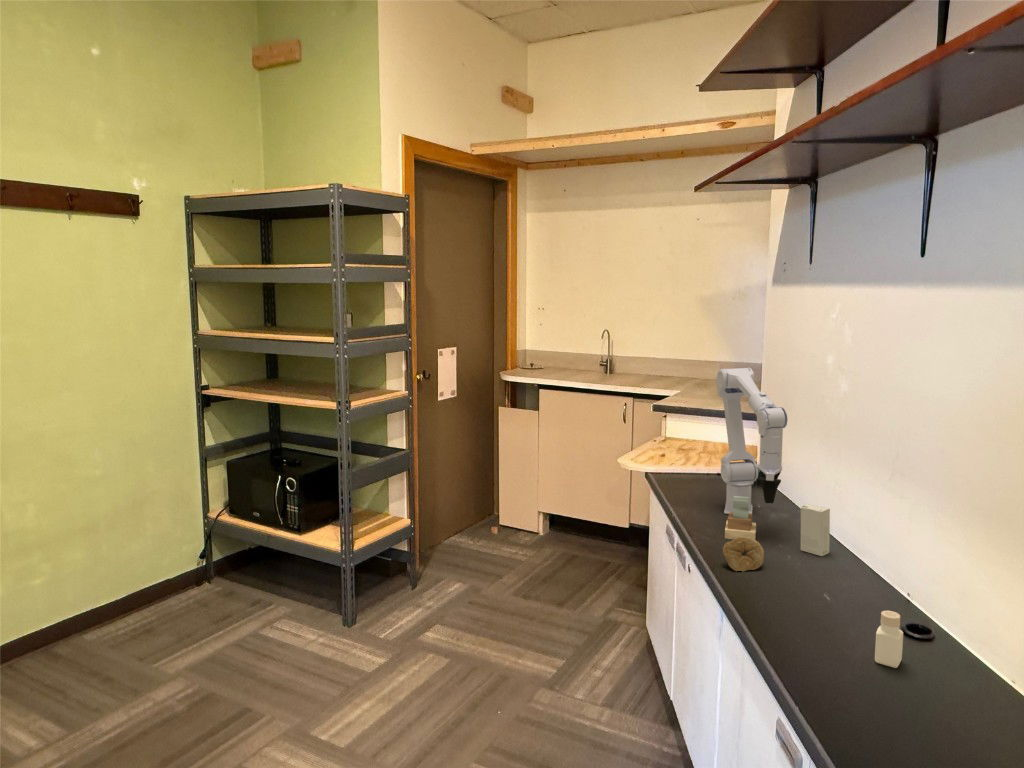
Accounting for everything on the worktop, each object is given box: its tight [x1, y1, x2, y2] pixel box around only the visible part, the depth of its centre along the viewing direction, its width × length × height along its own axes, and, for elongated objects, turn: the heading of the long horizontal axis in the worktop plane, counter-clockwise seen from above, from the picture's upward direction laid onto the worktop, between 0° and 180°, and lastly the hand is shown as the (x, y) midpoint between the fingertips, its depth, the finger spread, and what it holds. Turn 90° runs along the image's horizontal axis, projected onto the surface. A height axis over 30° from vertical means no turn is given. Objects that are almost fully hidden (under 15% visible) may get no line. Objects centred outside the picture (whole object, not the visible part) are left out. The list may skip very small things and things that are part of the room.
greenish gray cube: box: [733, 496, 749, 519], centre depth 199 cm, size 4×4×5 cm
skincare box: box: [800, 503, 831, 557], centre depth 186 cm, size 6×4×12 cm
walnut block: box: [727, 512, 753, 531], centre depth 199 cm, size 6×6×3 cm
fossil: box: [722, 537, 765, 573], centre depth 179 cm, size 9×4×10 cm
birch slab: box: [724, 519, 757, 540], centre depth 200 cm, size 8×8×3 cm
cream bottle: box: [874, 610, 904, 669], centre depth 133 cm, size 4×4×10 cm
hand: (769, 498), depth 198 cm, fingers open, 7 cm apart
